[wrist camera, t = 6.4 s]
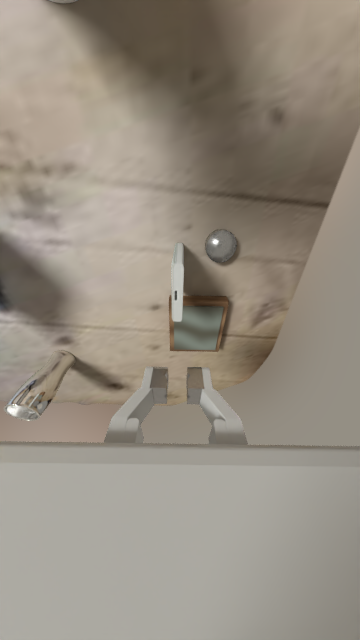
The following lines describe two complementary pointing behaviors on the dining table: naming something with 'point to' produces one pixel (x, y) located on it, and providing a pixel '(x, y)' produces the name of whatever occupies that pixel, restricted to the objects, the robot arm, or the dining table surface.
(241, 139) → the dining table surface
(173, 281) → the external hard drive
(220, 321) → the mirror
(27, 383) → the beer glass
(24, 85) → the dining table surface
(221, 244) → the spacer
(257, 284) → the dining table surface
